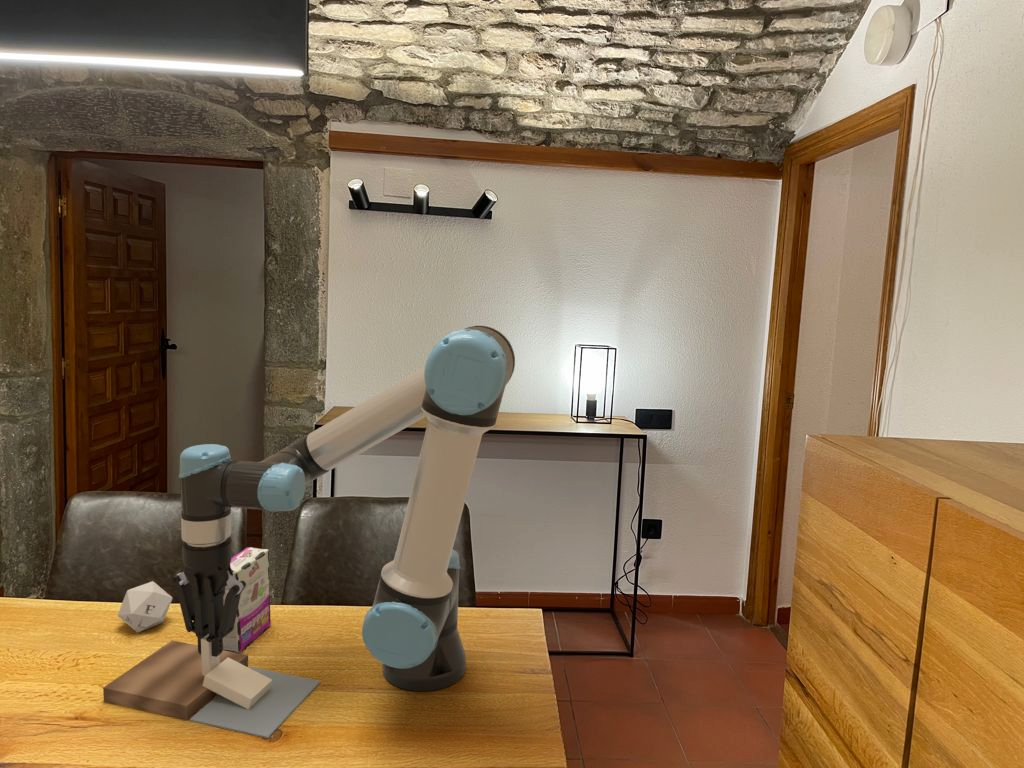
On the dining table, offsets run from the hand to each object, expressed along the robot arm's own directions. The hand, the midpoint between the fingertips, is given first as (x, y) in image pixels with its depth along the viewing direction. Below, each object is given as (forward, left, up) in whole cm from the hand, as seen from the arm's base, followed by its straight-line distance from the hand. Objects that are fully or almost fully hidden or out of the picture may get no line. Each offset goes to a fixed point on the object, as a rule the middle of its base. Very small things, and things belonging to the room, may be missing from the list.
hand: (211, 671), depth 121 cm
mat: (-9, 0, -4) cm, 10 cm away
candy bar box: (+5, -17, -4) cm, 18 cm away
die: (+26, -15, -4) cm, 31 cm away
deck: (+6, 0, -4) cm, 7 cm away
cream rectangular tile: (-5, 0, -2) cm, 5 cm away
